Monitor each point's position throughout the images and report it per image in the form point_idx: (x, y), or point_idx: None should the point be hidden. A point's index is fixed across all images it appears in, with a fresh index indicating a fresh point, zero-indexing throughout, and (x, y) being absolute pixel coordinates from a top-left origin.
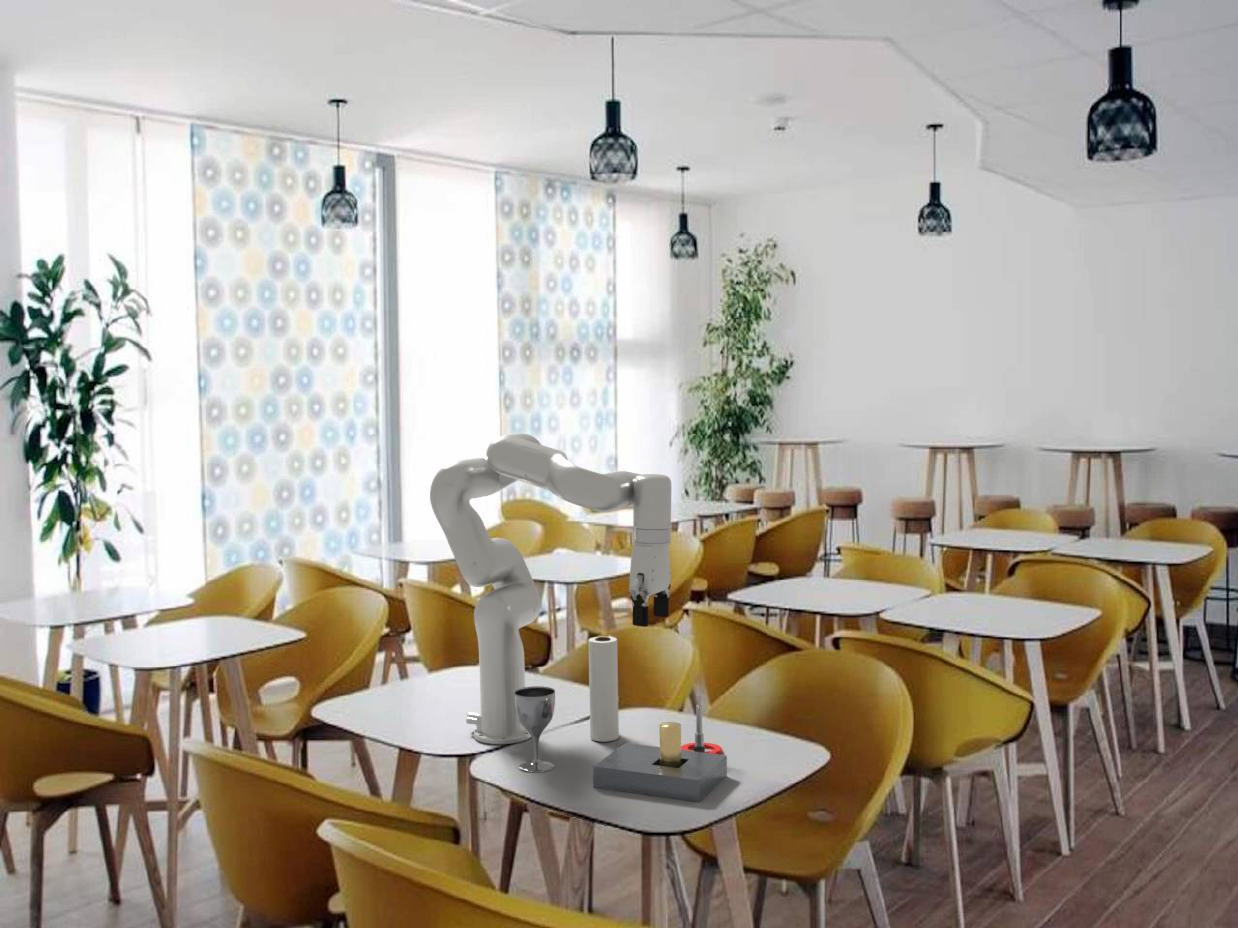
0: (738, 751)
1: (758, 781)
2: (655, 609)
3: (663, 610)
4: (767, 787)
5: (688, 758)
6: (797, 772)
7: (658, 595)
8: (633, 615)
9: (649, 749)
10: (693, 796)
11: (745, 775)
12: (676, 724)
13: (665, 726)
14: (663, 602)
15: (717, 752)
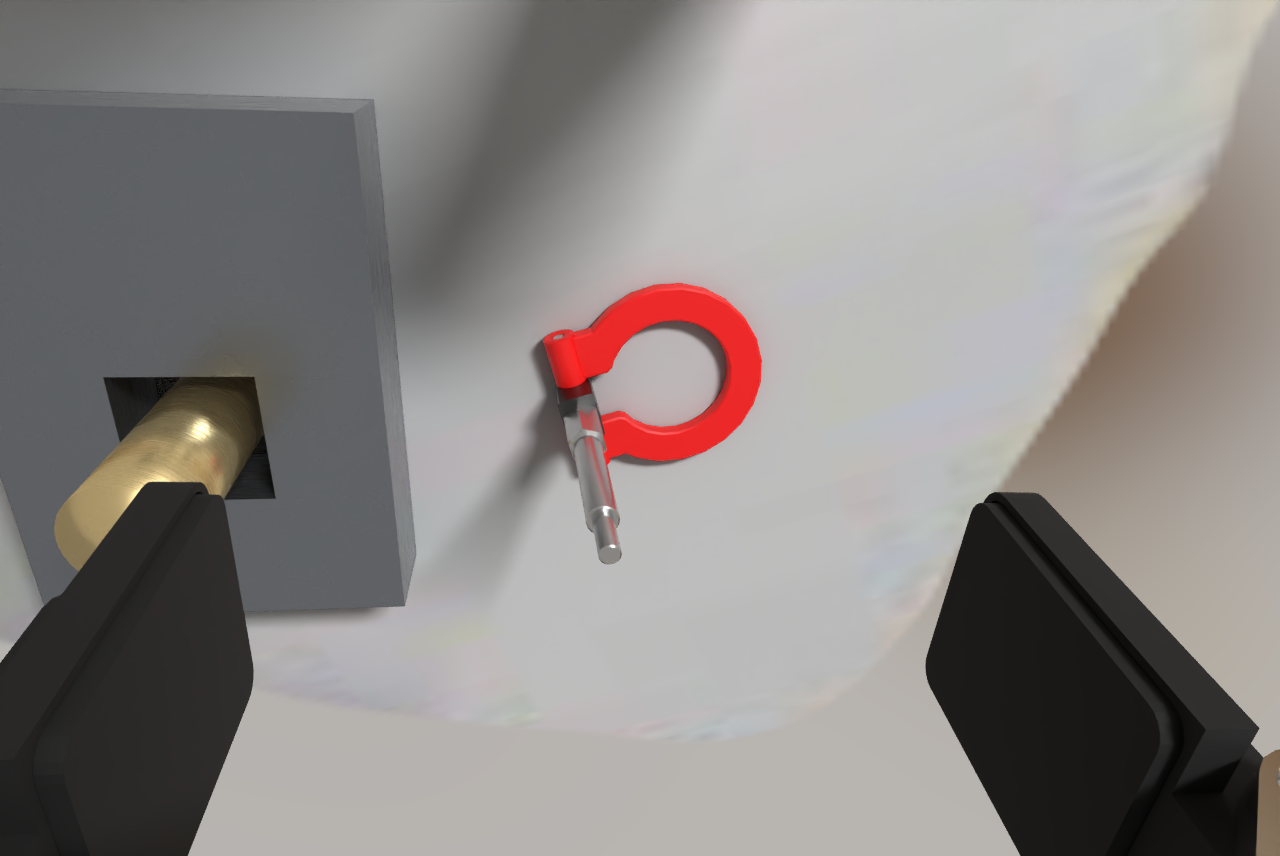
0: (719, 500)
1: (412, 656)
2: (1016, 589)
3: (973, 704)
4: (368, 695)
5: (283, 491)
6: (558, 725)
7: (1182, 853)
8: (79, 594)
9: (313, 281)
10: None
11: (453, 604)
12: None
13: (80, 527)
14: (1044, 818)
15: (636, 456)
